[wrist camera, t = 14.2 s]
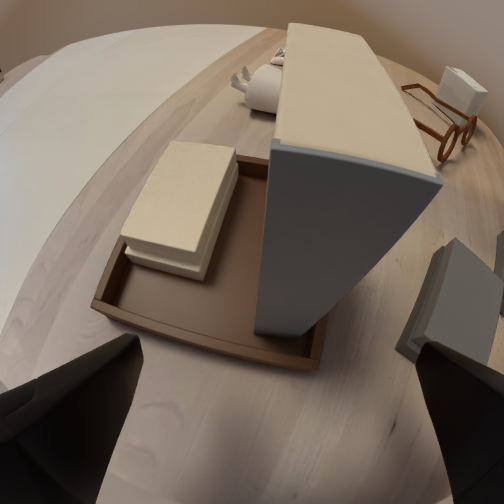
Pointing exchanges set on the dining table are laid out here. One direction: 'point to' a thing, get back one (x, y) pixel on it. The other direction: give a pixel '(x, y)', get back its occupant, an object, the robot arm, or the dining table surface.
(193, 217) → the white book stack
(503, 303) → the dark grey book stack
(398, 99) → the white book
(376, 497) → the dining table surface
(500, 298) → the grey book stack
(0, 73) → the tea box
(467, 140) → the glasses
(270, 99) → the woman figurine
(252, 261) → the book tray
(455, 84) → the white cardboard box
